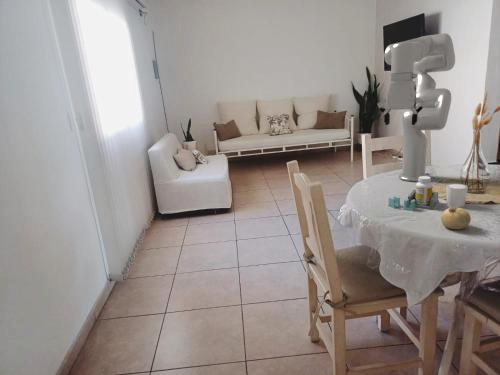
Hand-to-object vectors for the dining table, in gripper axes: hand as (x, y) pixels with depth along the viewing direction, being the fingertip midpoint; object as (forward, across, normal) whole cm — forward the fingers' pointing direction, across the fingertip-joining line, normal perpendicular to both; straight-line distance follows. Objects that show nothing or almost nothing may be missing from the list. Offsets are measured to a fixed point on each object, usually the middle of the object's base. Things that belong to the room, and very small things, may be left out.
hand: (400, 124), depth 136 cm
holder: (+28, -11, +8) cm, 31 cm away
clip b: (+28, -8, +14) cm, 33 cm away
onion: (+29, -24, +25) cm, 45 cm away
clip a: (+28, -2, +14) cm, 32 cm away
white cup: (+28, -21, +4) cm, 36 cm away
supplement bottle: (+28, -11, +9) cm, 31 cm away
